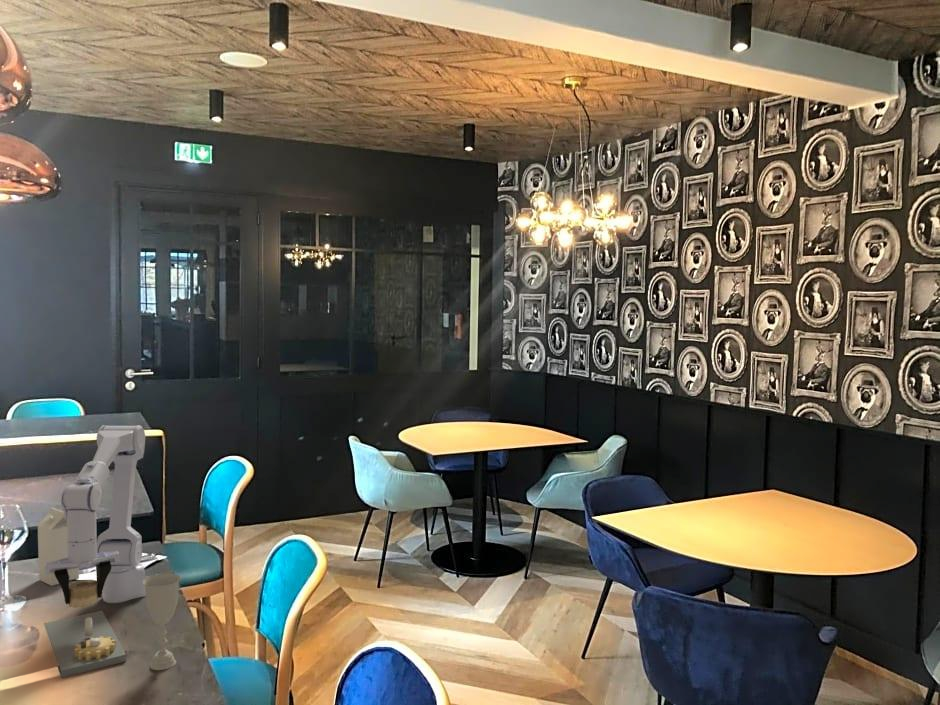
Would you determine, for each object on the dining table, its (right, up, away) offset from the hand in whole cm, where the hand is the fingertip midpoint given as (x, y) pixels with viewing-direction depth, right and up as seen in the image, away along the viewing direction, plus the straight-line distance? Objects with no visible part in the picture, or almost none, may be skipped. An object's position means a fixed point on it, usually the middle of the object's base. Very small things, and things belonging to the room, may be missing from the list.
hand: (83, 599), depth 163 cm
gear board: (+1, -10, -1) cm, 10 cm away
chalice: (+21, -11, -9) cm, 25 cm away
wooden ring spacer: (0, -1, 0) cm, 1 cm away
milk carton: (-25, -7, +35) cm, 44 cm away
